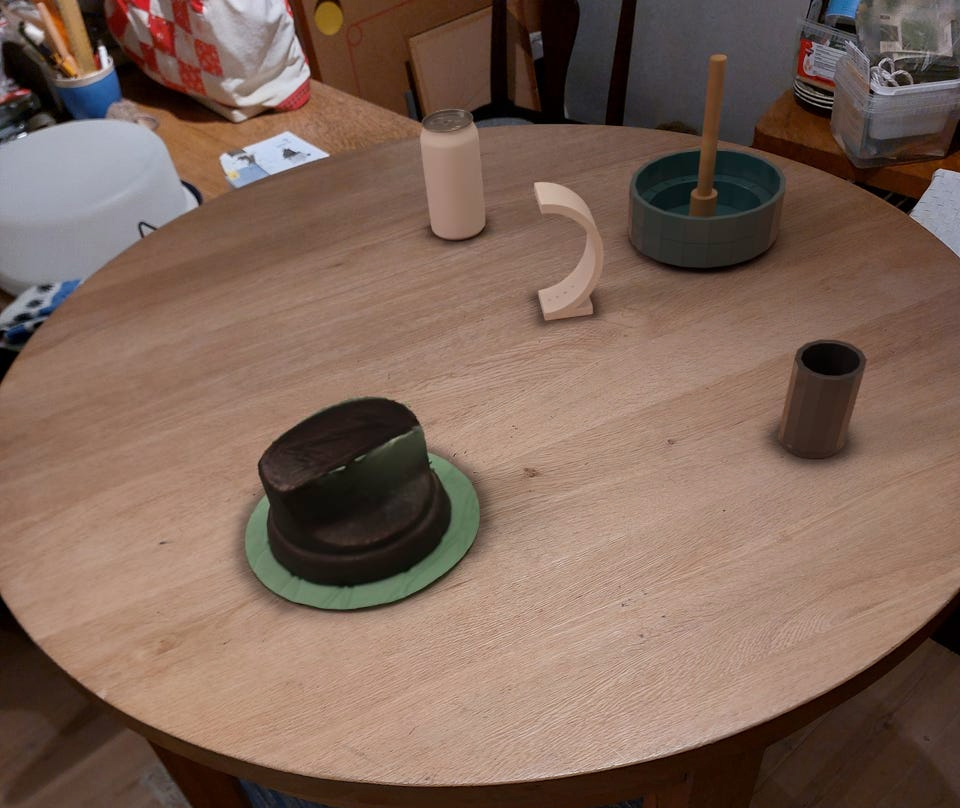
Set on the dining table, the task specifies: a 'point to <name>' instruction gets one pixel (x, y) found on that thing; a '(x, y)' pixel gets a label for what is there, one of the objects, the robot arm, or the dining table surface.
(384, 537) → the dark brown green hat
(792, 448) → the utensil pot
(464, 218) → the can
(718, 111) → the stick
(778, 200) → the bowl
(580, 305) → the headphone stand
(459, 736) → the dining table surface
